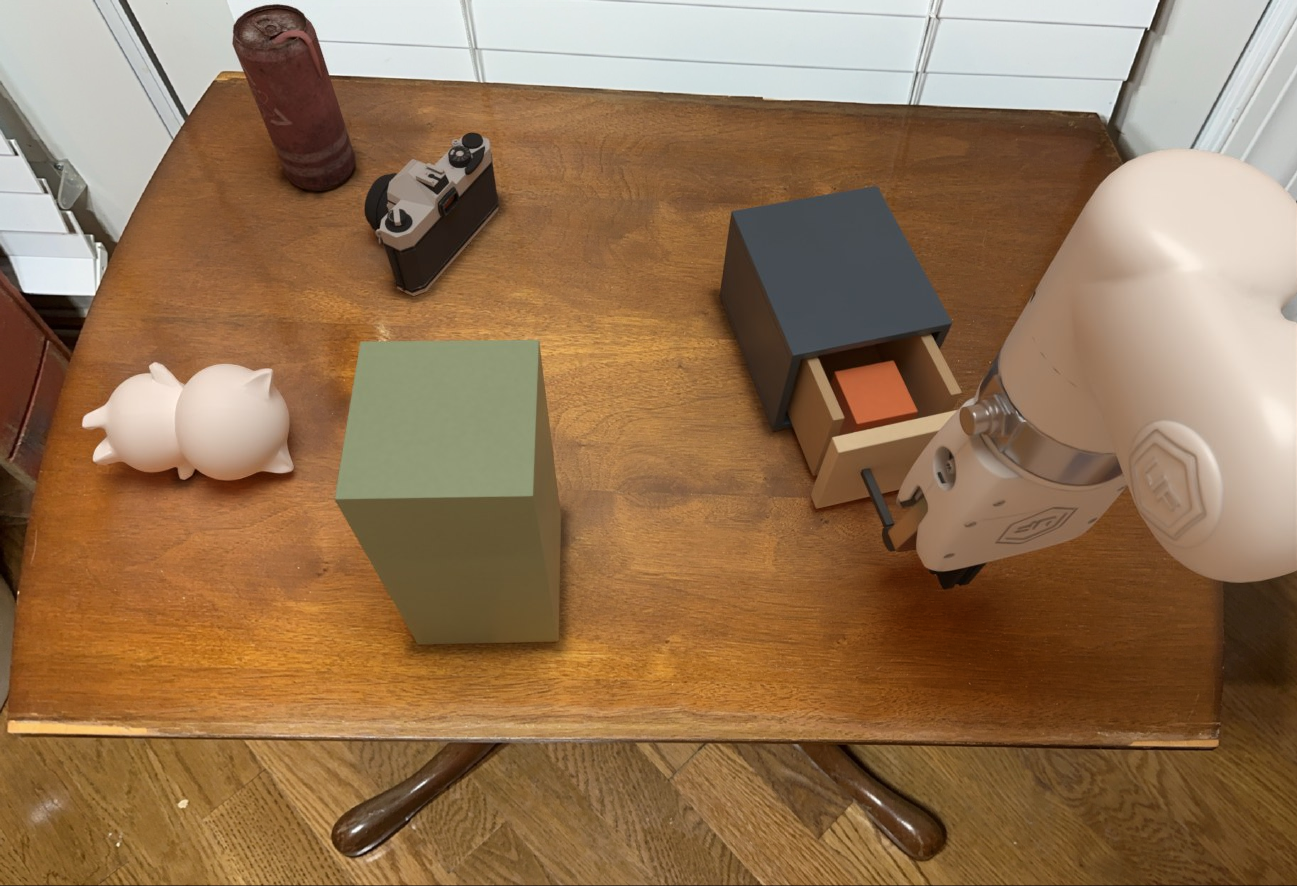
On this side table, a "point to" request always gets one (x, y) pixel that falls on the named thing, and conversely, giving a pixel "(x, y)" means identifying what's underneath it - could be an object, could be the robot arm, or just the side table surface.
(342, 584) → the side table surface
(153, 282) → the side table surface
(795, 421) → the drawer
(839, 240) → the cabinet
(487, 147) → the camera
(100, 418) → the cat figurine
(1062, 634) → the side table surface
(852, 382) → the block
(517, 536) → the stand
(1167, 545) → the robot arm
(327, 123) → the can
